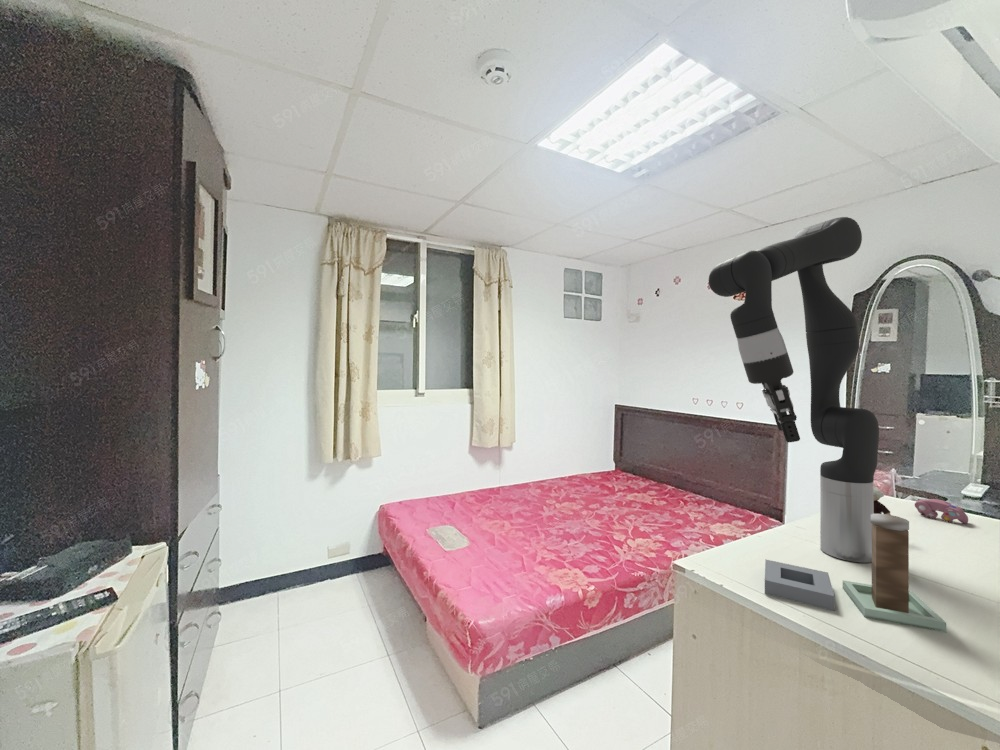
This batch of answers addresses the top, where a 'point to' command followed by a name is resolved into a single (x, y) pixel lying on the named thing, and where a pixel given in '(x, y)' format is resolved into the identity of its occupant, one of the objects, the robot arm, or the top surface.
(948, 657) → the top surface
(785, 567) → the charcoal holder
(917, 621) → the sage green tray
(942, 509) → the video game controller
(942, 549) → the top surface
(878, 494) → the grandmother figurine
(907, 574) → the dark wooden pin
